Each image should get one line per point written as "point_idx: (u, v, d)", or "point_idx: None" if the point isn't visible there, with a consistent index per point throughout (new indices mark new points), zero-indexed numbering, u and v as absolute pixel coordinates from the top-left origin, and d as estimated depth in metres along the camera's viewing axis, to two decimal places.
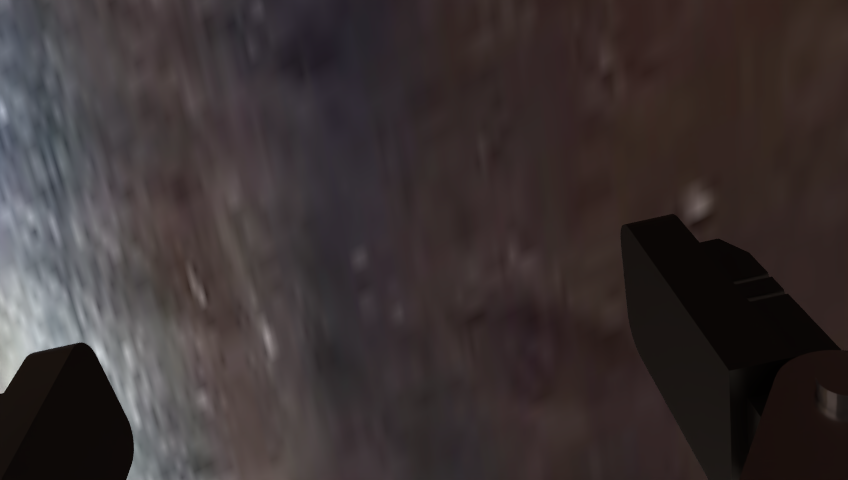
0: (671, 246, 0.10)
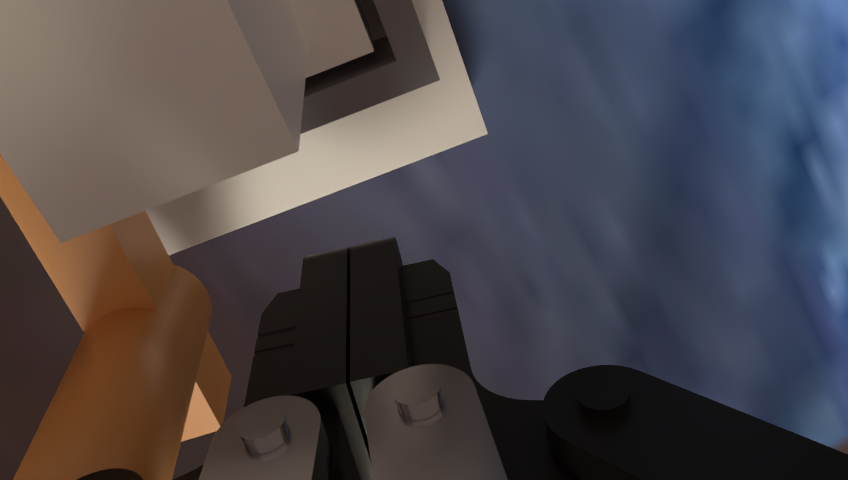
0: (373, 267, 0.11)
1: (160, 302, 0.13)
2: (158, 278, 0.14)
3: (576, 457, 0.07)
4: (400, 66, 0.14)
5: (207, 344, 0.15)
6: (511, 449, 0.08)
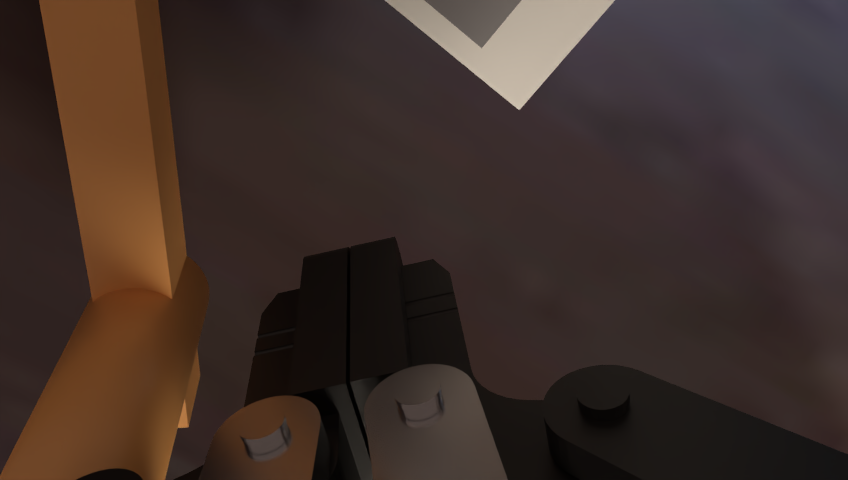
0: (373, 267, 0.11)
1: (175, 291, 0.14)
2: (177, 267, 0.14)
3: (576, 457, 0.07)
4: None
5: None
6: (511, 449, 0.08)
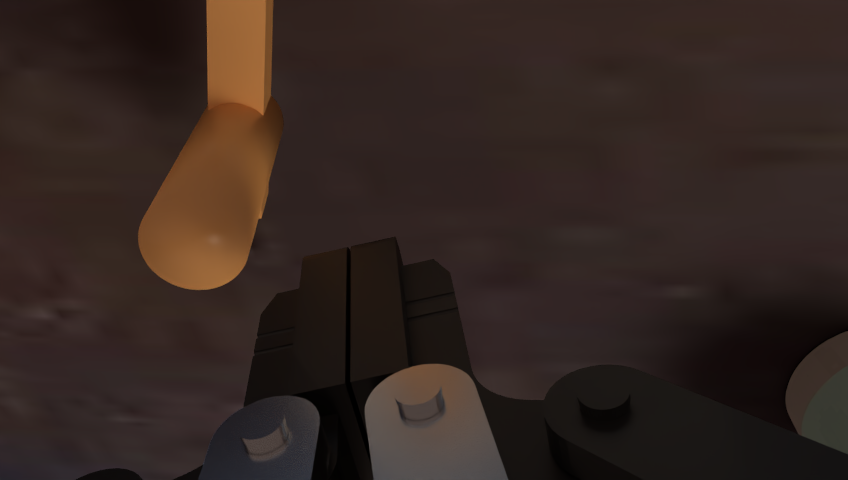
0: (373, 267, 0.11)
1: (264, 112, 0.19)
2: (266, 96, 0.19)
3: (576, 457, 0.07)
4: None
5: None
6: (512, 449, 0.08)
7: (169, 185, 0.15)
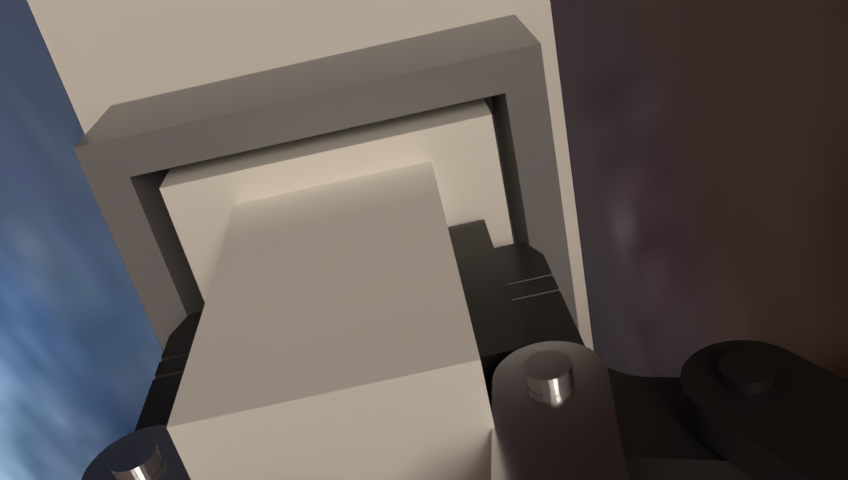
0: (468, 248, 0.11)
1: None
2: None
3: (709, 425, 0.07)
4: (124, 169, 0.11)
5: None
6: (645, 425, 0.08)
7: None
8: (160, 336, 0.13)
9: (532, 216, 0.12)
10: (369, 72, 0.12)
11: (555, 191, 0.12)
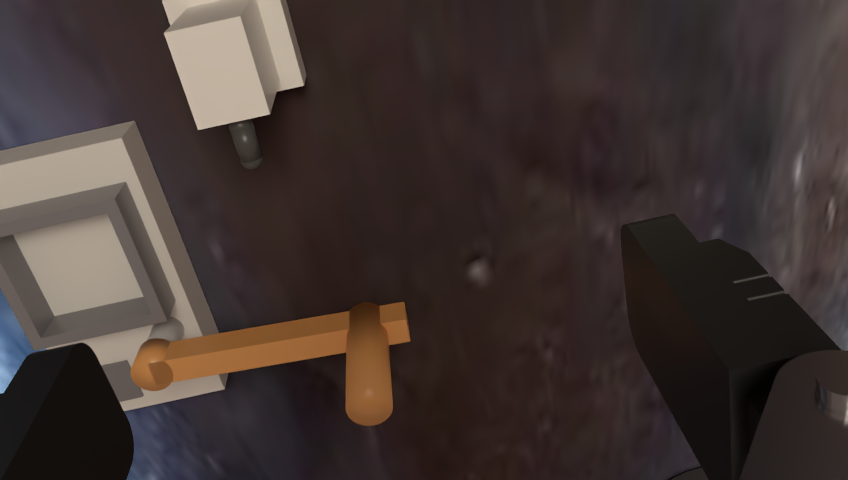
0: (671, 246, 0.10)
1: (349, 325, 0.38)
2: (344, 322, 0.38)
3: None
4: None
5: (382, 308, 0.39)
6: None
7: None
8: (3, 292, 0.37)
9: (126, 251, 0.37)
10: (65, 206, 0.36)
11: (132, 243, 0.37)
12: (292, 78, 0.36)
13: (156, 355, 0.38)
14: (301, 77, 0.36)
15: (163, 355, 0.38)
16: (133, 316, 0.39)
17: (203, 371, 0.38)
